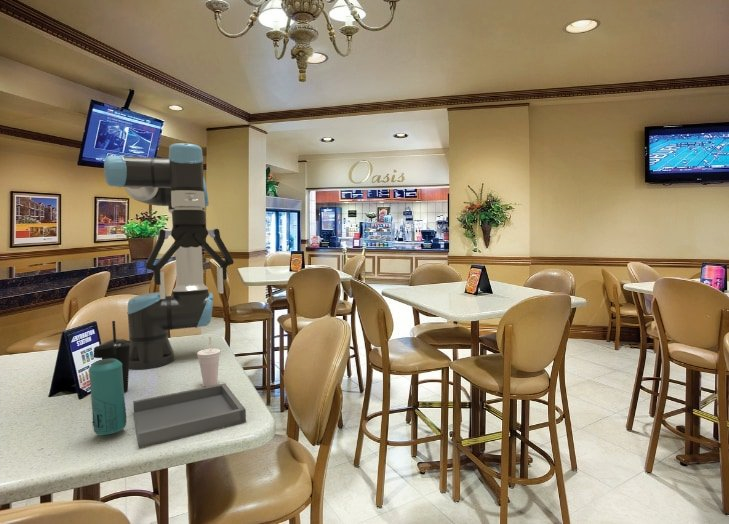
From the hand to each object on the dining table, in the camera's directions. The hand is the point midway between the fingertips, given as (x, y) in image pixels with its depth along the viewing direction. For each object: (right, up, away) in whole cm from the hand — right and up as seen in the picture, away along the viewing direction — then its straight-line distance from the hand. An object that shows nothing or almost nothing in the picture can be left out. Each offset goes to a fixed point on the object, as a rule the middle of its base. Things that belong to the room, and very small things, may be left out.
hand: (192, 295), depth 106 cm
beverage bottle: (-13, -30, -12) cm, 35 cm away
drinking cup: (-26, -28, +13) cm, 40 cm away
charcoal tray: (+1, -29, -4) cm, 29 cm away
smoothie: (-2, -27, +18) cm, 33 cm away
